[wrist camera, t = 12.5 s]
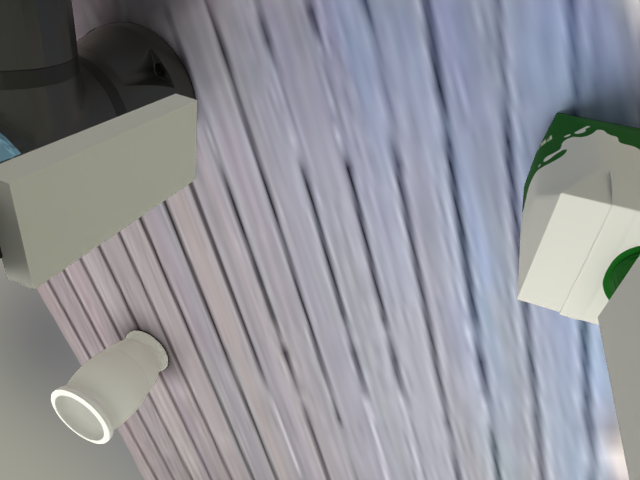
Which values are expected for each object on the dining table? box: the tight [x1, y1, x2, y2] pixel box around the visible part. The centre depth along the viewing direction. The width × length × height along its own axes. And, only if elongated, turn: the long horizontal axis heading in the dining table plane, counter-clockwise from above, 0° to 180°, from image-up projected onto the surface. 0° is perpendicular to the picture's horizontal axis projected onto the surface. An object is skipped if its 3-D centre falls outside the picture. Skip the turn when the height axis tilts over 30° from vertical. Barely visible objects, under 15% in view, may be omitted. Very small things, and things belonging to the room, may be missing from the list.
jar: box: [51, 330, 168, 444], centre depth 74 cm, size 11×10×15 cm
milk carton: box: [517, 113, 640, 325], centre depth 33 cm, size 9×9×20 cm
